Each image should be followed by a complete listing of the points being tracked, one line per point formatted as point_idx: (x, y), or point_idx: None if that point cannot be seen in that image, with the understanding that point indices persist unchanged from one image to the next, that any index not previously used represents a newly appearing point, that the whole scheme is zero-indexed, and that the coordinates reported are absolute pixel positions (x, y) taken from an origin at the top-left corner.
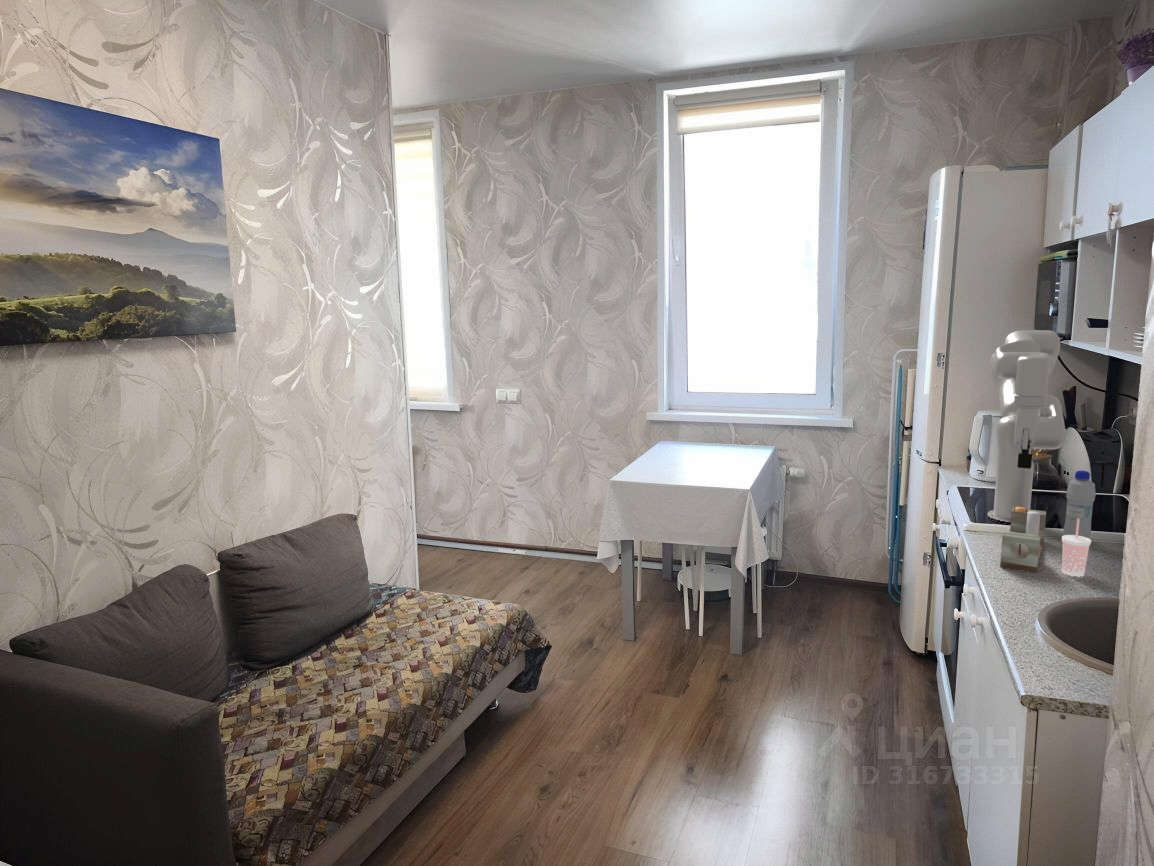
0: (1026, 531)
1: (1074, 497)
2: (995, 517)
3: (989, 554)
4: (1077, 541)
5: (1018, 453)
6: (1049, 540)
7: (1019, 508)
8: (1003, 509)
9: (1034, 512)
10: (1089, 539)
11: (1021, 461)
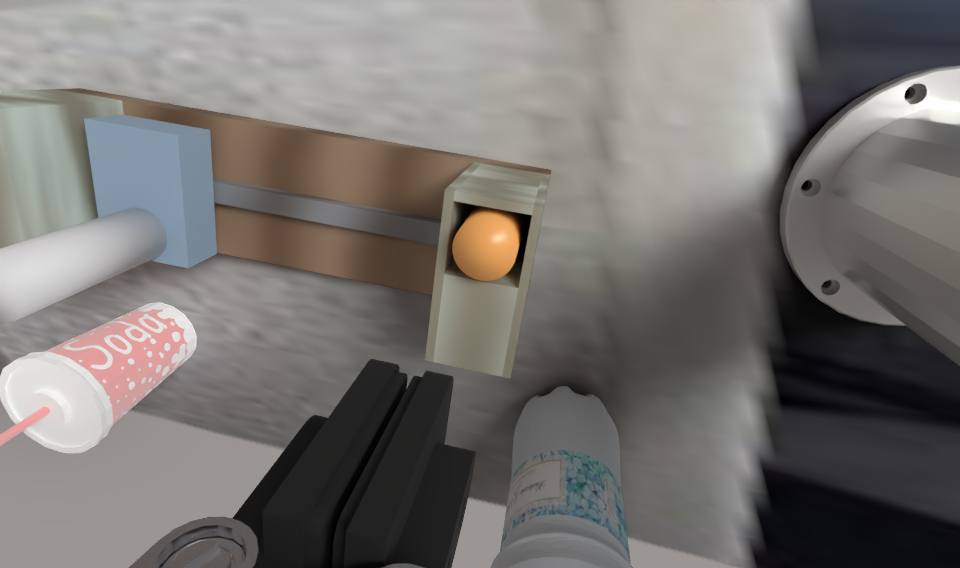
0: (80, 224)
1: (500, 565)
2: (863, 111)
3: (223, 50)
4: (23, 403)
5: (267, 509)
6: (545, 327)
7: (469, 241)
8: (881, 163)
9: (2, 295)
10: (72, 449)
11: (291, 448)
